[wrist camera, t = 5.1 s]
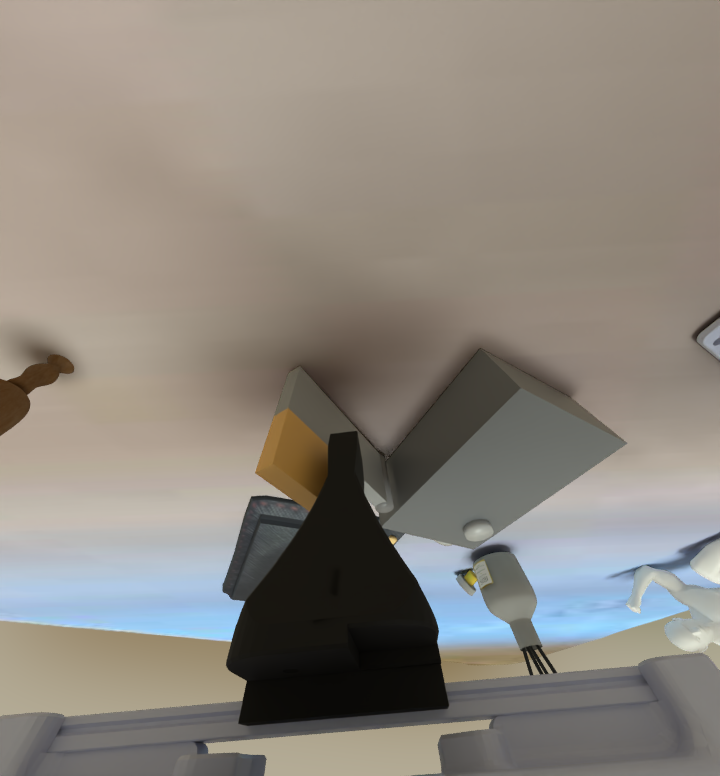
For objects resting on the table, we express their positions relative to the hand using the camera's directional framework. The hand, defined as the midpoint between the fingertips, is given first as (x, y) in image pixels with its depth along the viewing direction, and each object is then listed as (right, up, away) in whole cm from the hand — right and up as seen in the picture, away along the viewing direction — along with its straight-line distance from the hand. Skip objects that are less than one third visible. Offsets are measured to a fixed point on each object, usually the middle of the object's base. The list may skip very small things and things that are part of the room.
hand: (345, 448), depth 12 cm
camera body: (+8, -1, +7) cm, 11 cm away
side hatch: (0, +1, +5) cm, 5 cm away
